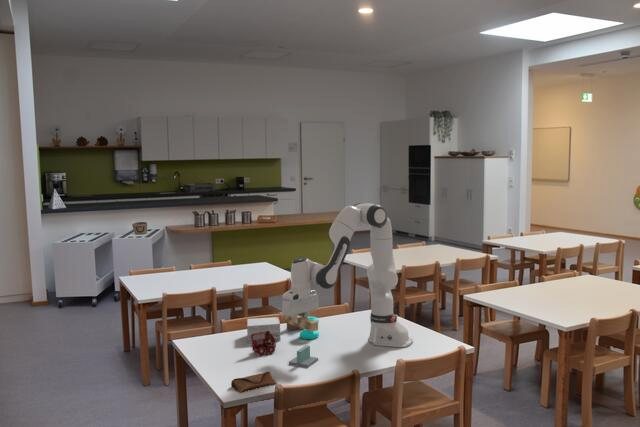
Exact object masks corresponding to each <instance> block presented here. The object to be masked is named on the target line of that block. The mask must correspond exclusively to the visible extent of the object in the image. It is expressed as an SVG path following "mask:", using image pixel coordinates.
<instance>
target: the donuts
mask: <svg viewBox="0 0 640 427" xmlns="http://www.w3.org/2000/svg"><path fill="white" fill-rule="evenodd" d="M307 318H308V319H312V320H315V321H318V323H319V320H320V319H318V317H316V316H309V315H308V317H307ZM319 335H320V333H319V330H317V331H313V332H312V331H309V330H306V329H301V331H300V332H299V337H300V338H302V339H303V340H314V339H317V338H318V337H319Z"/></svg>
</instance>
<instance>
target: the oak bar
mask: <svg viewBox="0 0 640 427" xmlns="http://www.w3.org/2000/svg"><path fill="white" fill-rule="evenodd" d="M297 318H298V319H299V320H300V321H299V322H300V323H297V324H296V323H295V319H294V318H293V316H289V317H287V316H284V323H285V324H287V323H288V324H291V325H294V326H297V327H300V328H303V329H302V330H304V329H306V330H309V331H312V332H313V331H319V322H318V321H315V320H312V319H308V318H305V317H302V316H299V315H298V316H297Z"/></svg>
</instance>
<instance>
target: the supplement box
mask: <svg viewBox="0 0 640 427" xmlns="http://www.w3.org/2000/svg"><path fill="white" fill-rule="evenodd" d="M246 323H247V325H246V330H247V332H246V333H247V344H249V343H250V344H251V343H252V339H251V335H252V334H254V333H260V332H265V333H266V331H270V334H272V335H273V337H274V339H275V340H276V342H281V341H282V340H281V338H282V337H281V322H280V319H279V316H274V317H260V318H247V322H246Z"/></svg>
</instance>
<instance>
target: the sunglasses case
mask: <svg viewBox="0 0 640 427" xmlns="http://www.w3.org/2000/svg"><path fill="white" fill-rule="evenodd" d="M269 385H270V386H275V385H278V383H277V382H276V381H275V379H274V377H273V376H272V374H271V371H265V372H261V373H258V374H252V375H249V376H245V377H238V378H234V379H232V380H231V388H232V387H233V388H234V389H233V388H232V389H233V390H235V391H236V392H237V391H238V392H237V393H239V392H240V393H239V394H242V392H243V393H245V391H246V392H248V390H249V391H253V390H257V389H261V388H260V387H262V388H266V387H270V386H269ZM265 386H266V387H265ZM256 388H257V389H256Z"/></svg>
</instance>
